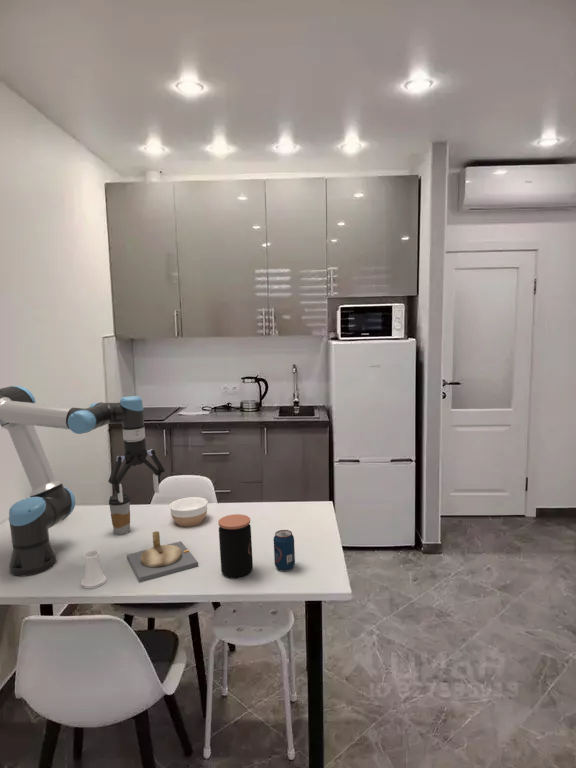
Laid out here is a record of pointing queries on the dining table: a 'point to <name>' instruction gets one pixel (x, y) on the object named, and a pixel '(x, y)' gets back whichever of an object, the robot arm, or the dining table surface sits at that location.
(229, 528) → the coffee jar
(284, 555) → the soda can
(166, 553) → the dial
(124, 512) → the coffee cup
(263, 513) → the dining table surface
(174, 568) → the dial base
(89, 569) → the vase
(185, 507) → the bowl
